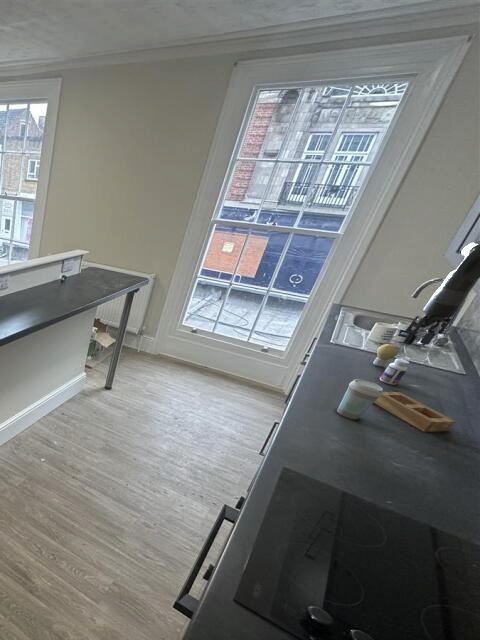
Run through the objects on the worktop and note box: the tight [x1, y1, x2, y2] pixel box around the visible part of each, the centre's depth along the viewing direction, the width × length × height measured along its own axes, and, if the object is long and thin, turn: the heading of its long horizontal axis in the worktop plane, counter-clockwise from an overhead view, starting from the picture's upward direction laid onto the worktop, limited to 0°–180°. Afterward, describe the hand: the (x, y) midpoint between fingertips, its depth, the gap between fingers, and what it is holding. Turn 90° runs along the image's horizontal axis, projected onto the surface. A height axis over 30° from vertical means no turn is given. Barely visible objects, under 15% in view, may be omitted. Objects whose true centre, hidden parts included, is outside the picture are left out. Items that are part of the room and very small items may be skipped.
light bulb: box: [373, 343, 399, 368], centre depth 174 cm, size 6×6×10 cm
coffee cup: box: [336, 378, 384, 420], centre depth 134 cm, size 9×8×12 cm
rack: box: [373, 391, 457, 433], centre depth 139 cm, size 10×18×4 cm, turn 8°
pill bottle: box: [379, 358, 411, 386], centre depth 160 cm, size 5×5×10 cm
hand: (415, 343), depth 146 cm, fingers open, 8 cm apart
